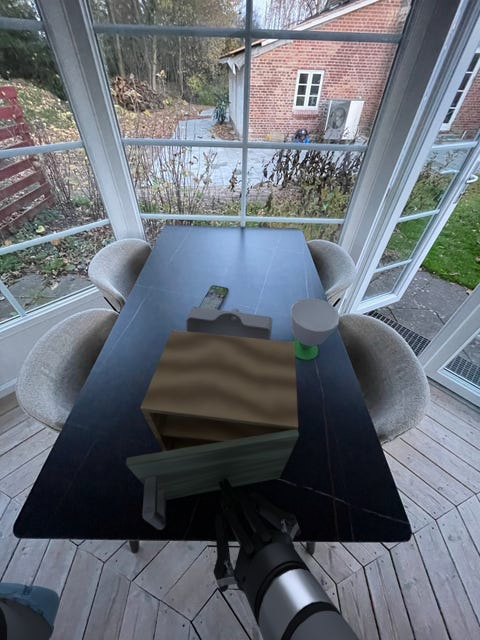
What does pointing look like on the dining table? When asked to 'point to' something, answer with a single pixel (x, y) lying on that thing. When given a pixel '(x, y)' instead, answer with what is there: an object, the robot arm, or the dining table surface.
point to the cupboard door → (208, 469)
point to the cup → (312, 325)
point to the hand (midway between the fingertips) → (224, 486)
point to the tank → (228, 323)
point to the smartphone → (214, 297)
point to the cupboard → (220, 390)
